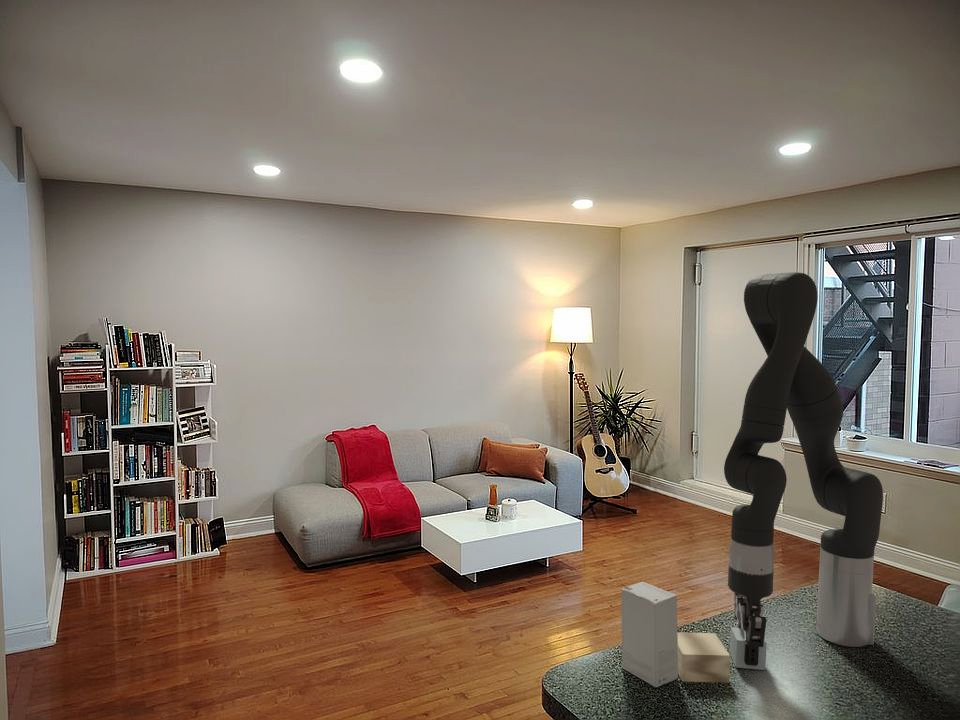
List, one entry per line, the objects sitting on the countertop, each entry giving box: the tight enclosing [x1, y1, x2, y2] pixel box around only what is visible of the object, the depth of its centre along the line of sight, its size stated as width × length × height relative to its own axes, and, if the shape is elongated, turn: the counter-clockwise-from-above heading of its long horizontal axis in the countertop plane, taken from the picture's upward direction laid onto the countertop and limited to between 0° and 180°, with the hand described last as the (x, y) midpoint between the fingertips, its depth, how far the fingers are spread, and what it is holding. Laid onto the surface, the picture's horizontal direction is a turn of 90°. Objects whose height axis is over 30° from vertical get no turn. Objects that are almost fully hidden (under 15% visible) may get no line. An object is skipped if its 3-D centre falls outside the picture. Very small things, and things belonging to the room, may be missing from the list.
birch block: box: [677, 631, 731, 684], centre depth 119 cm, size 8×8×5 cm
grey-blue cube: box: [729, 626, 768, 671], centre depth 122 cm, size 5×5×5 cm
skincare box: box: [620, 581, 679, 688], centre depth 117 cm, size 8×6×15 cm
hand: (747, 656), depth 122 cm, fingers closed on grey-blue cube, 5 cm apart
